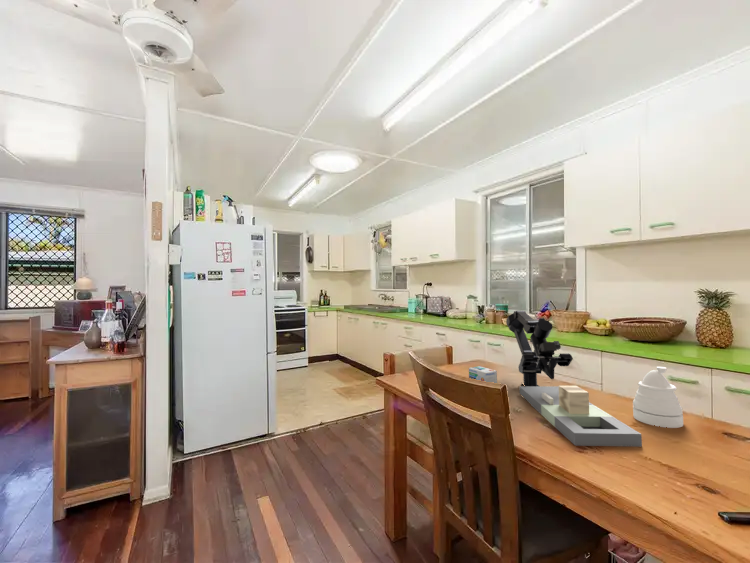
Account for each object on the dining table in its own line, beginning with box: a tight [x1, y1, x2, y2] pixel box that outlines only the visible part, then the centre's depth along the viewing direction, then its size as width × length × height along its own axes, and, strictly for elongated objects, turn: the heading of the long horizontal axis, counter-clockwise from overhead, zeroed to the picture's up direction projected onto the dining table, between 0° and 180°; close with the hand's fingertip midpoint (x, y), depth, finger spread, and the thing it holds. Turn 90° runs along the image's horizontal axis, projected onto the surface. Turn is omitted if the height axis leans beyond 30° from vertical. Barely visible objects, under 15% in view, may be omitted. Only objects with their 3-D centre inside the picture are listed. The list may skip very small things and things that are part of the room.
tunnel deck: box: [519, 385, 643, 448], centre depth 119 cm, size 47×18×6 cm, turn 175°
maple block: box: [558, 385, 590, 414], centre depth 115 cm, size 8×6×7 cm
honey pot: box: [632, 366, 684, 429], centre depth 113 cm, size 13×13×18 cm
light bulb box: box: [468, 365, 498, 384], centre depth 145 cm, size 11×7×11 cm, turn 25°
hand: (552, 378), depth 131 cm, fingers closed
